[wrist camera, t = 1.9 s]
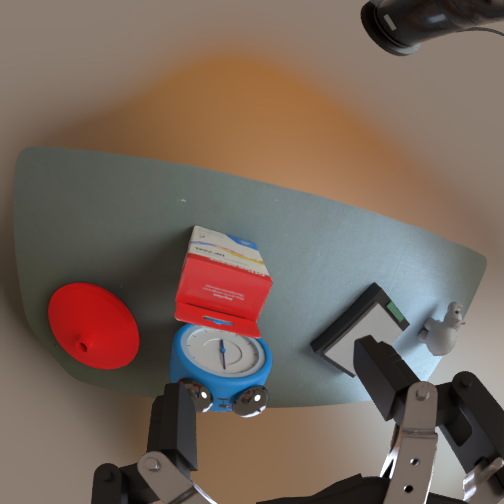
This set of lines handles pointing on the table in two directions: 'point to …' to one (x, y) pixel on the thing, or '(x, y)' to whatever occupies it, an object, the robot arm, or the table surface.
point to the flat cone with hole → (93, 326)
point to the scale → (360, 328)
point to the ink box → (222, 283)
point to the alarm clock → (221, 369)
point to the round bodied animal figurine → (442, 331)
